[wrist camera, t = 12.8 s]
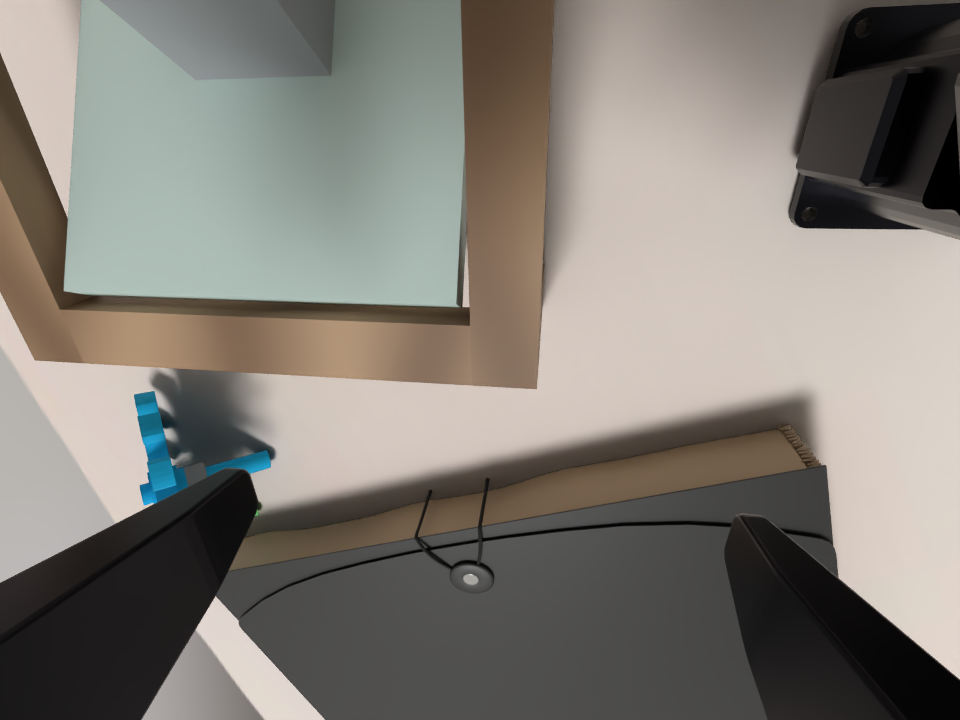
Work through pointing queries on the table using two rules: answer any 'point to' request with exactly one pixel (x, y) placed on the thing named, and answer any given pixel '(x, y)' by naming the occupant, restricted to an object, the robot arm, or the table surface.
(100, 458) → the table surface
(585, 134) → the table surface
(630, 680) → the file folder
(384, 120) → the trapdoor
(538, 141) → the frame
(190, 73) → the stone block
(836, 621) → the robot arm
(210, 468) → the gear
